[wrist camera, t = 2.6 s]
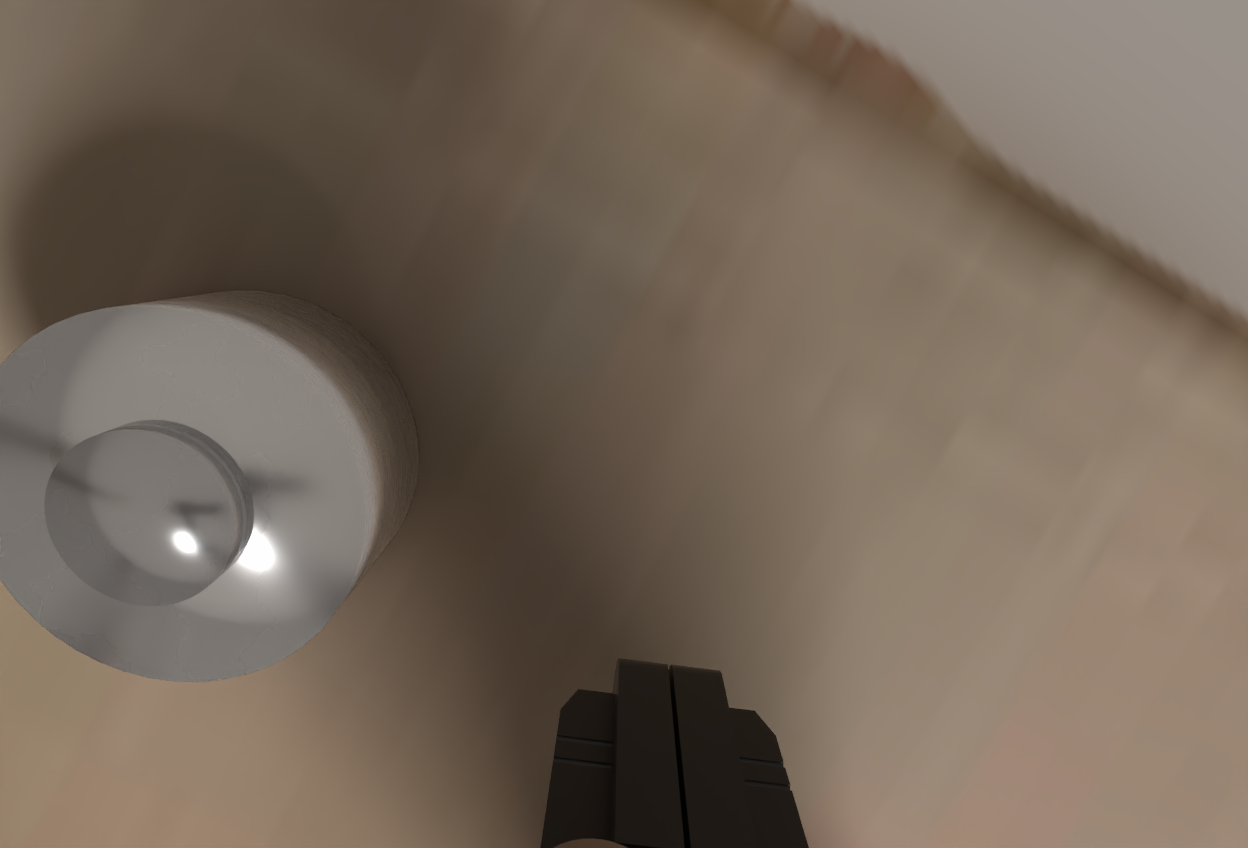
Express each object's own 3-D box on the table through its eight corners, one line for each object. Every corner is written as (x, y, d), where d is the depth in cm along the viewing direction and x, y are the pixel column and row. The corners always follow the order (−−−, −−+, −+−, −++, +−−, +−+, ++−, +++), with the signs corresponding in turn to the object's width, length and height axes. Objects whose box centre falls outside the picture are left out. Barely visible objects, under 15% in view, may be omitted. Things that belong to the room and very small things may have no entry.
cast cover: (426, 307, 22) (353, 333, 16) (414, 603, 24) (345, 723, 18) (98, 274, 21) (-100, 288, 15) (116, 575, 23) (-53, 687, 18)
